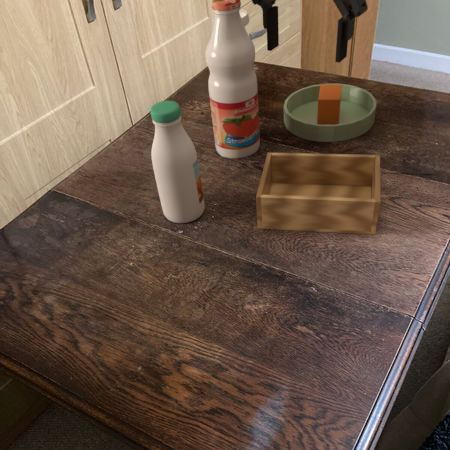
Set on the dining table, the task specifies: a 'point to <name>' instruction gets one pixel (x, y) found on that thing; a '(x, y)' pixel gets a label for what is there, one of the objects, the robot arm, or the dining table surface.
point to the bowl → (348, 119)
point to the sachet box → (329, 104)
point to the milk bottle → (175, 165)
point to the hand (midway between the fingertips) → (305, 53)
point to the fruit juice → (232, 83)
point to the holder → (320, 193)
